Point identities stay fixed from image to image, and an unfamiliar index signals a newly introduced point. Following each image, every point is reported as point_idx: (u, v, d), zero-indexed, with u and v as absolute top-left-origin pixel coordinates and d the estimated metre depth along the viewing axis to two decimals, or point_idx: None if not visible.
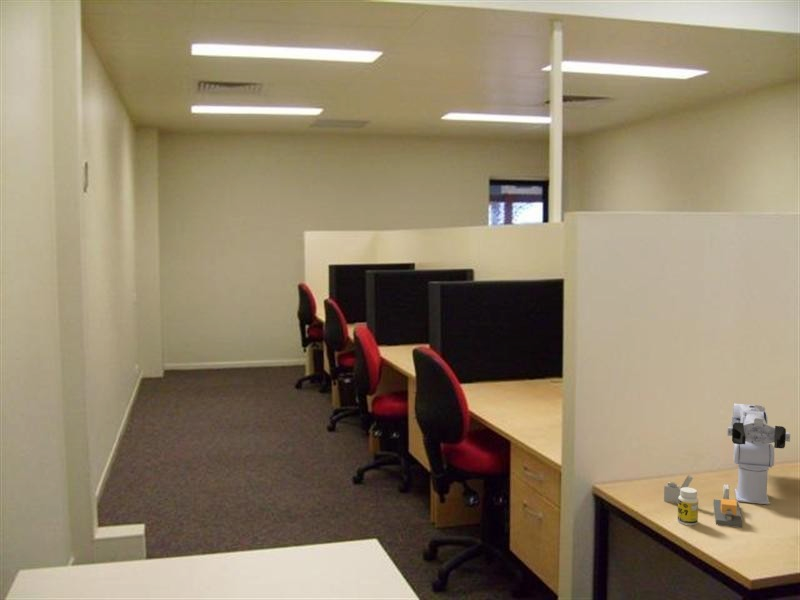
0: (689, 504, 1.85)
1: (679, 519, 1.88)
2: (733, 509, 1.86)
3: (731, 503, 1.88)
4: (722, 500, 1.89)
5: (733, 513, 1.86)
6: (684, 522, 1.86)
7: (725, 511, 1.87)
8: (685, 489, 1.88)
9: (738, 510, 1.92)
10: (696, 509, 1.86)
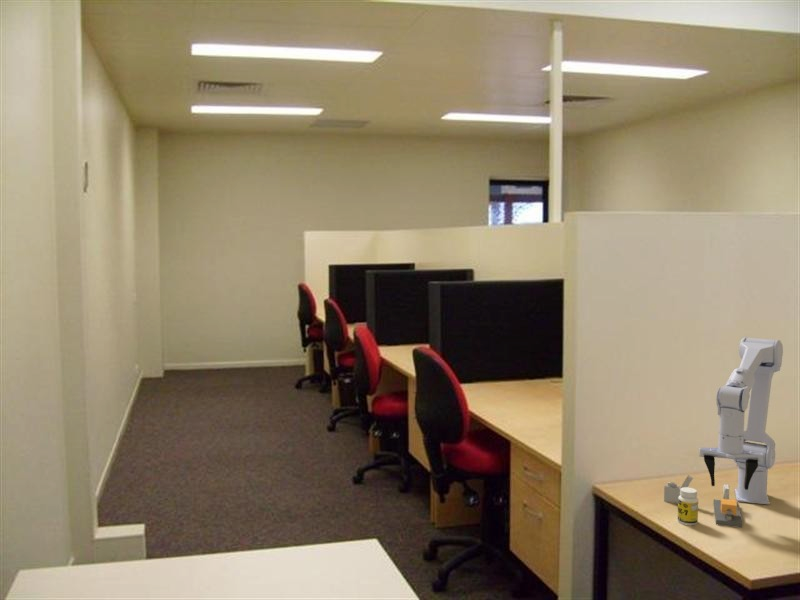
0: (689, 504, 1.85)
1: (679, 519, 1.88)
2: (733, 509, 1.86)
3: (731, 503, 1.88)
4: (722, 500, 1.89)
5: (733, 513, 1.86)
6: (684, 522, 1.86)
7: (725, 511, 1.87)
8: (685, 489, 1.88)
9: (738, 510, 1.92)
10: (696, 509, 1.86)
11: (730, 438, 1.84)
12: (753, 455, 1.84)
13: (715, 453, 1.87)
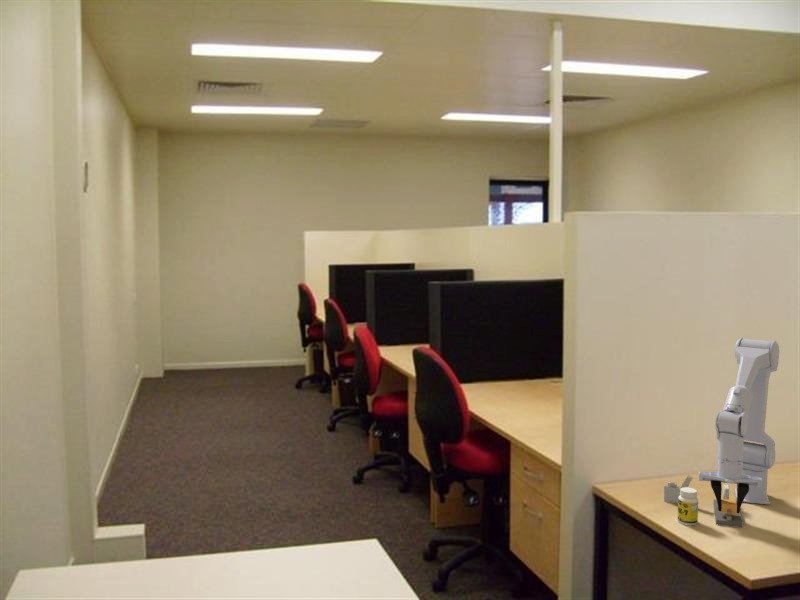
0: (689, 504, 1.85)
1: (679, 519, 1.88)
2: (733, 509, 1.86)
3: (731, 503, 1.88)
4: (722, 500, 1.89)
5: (733, 513, 1.86)
6: (684, 522, 1.86)
7: (725, 511, 1.87)
8: (685, 489, 1.88)
9: None
10: (696, 509, 1.86)
11: (729, 463, 1.85)
12: (752, 480, 1.85)
13: (714, 478, 1.87)
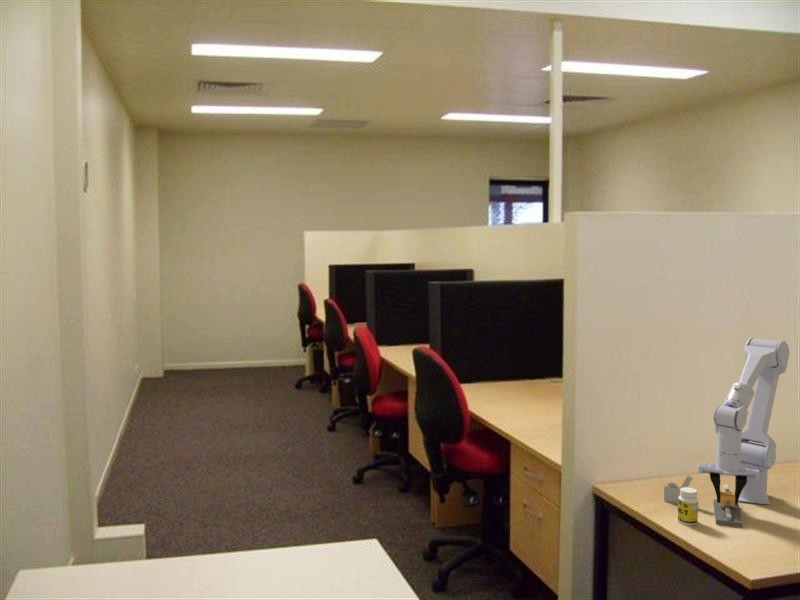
0: (689, 504, 1.85)
1: (679, 519, 1.88)
2: (731, 501, 1.92)
3: (729, 494, 1.93)
4: (721, 492, 1.95)
5: (731, 504, 1.92)
6: (684, 522, 1.86)
7: (724, 502, 1.93)
8: (685, 489, 1.88)
9: (738, 510, 1.92)
10: (696, 509, 1.86)
11: (728, 456, 1.91)
12: (750, 472, 1.91)
13: (713, 470, 1.93)
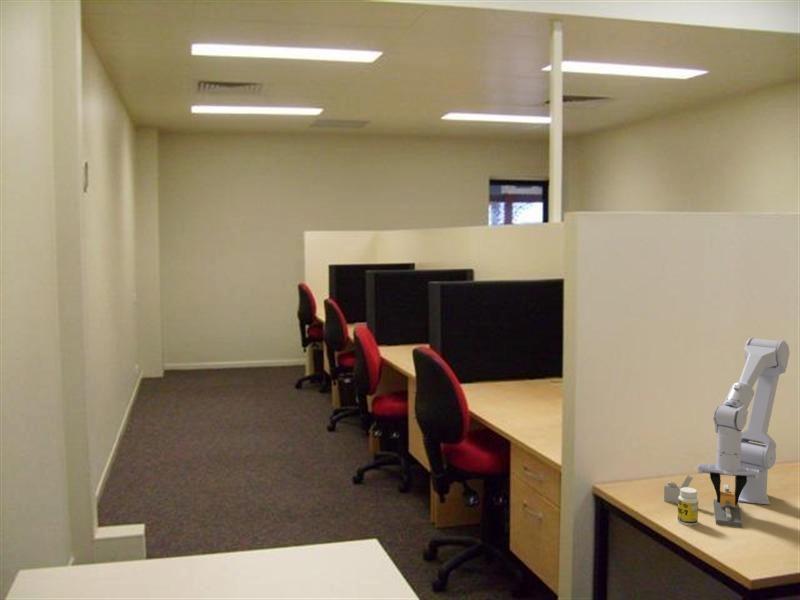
0: (689, 504, 1.85)
1: (679, 519, 1.88)
2: (731, 501, 1.92)
3: (729, 494, 1.93)
4: (721, 492, 1.95)
5: (731, 504, 1.92)
6: (684, 522, 1.86)
7: (724, 502, 1.93)
8: (685, 489, 1.88)
9: (738, 510, 1.92)
10: (696, 509, 1.86)
11: (728, 456, 1.91)
12: (750, 472, 1.91)
13: (713, 470, 1.93)
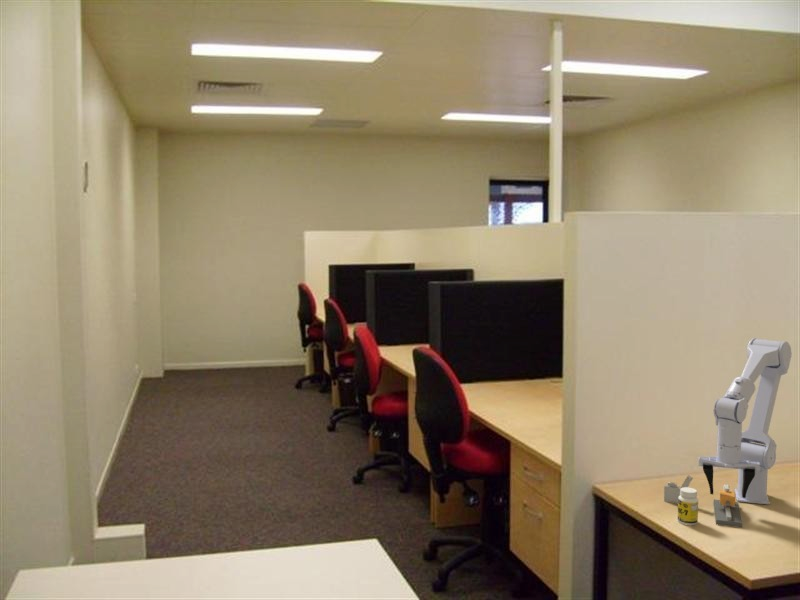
0: (689, 504, 1.85)
1: (679, 519, 1.88)
2: (731, 501, 1.92)
3: (729, 494, 1.93)
4: (721, 492, 1.95)
5: (731, 504, 1.92)
6: (684, 522, 1.86)
7: (724, 502, 1.93)
8: (685, 489, 1.88)
9: (738, 510, 1.92)
10: (696, 509, 1.86)
11: (728, 448, 1.90)
12: (750, 464, 1.90)
13: (713, 463, 1.93)
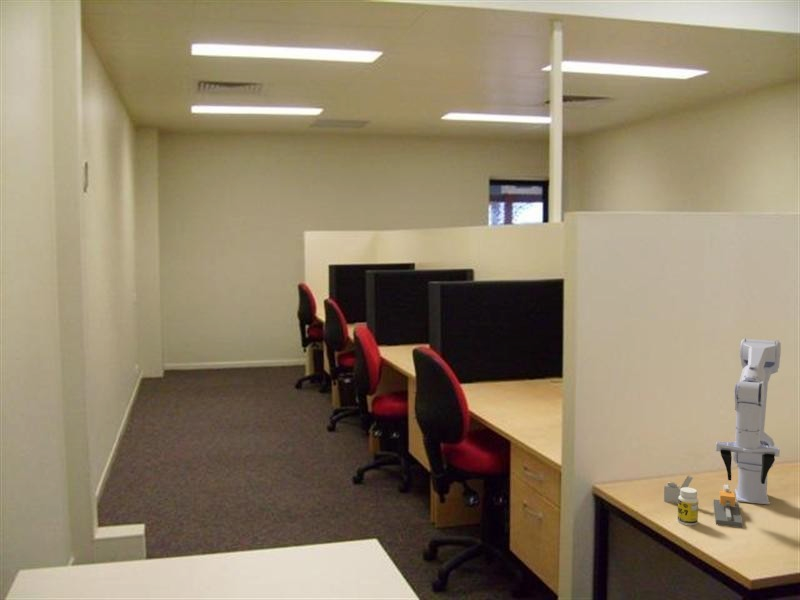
0: (689, 504, 1.85)
1: (679, 519, 1.88)
2: (731, 501, 1.92)
3: (729, 494, 1.93)
4: (721, 492, 1.95)
5: (731, 504, 1.92)
6: (684, 522, 1.86)
7: (724, 502, 1.93)
8: (685, 489, 1.88)
9: (738, 510, 1.92)
10: (696, 509, 1.86)
11: (747, 433, 1.85)
12: (770, 449, 1.85)
13: (732, 448, 1.88)
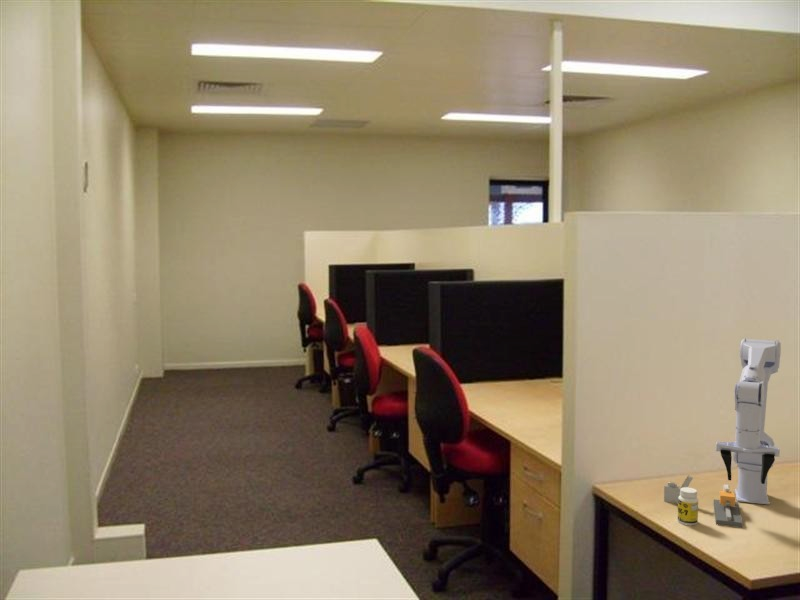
0: (689, 504, 1.85)
1: (679, 519, 1.88)
2: (731, 501, 1.92)
3: (729, 494, 1.93)
4: (721, 492, 1.95)
5: (731, 504, 1.92)
6: (684, 522, 1.86)
7: (724, 502, 1.93)
8: (685, 489, 1.88)
9: (738, 510, 1.92)
10: (696, 509, 1.86)
11: (747, 433, 1.85)
12: (770, 449, 1.85)
13: (732, 448, 1.88)
